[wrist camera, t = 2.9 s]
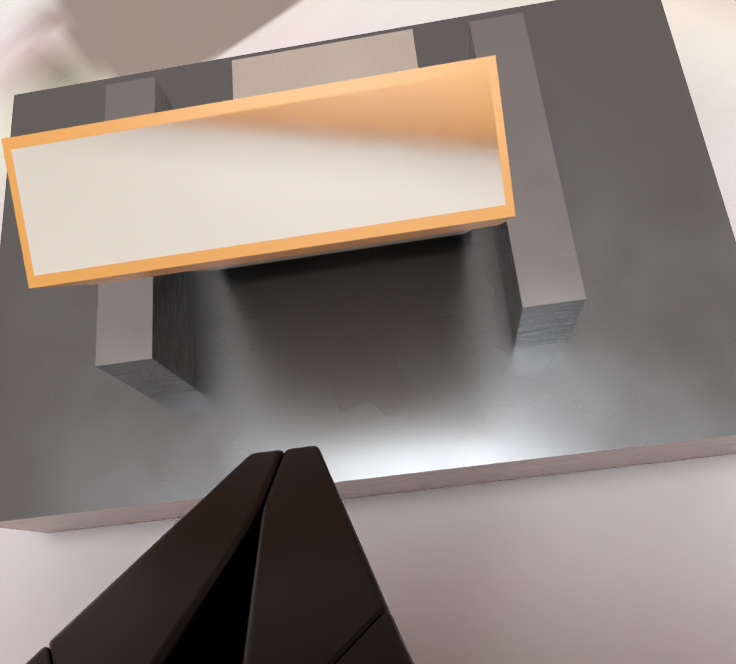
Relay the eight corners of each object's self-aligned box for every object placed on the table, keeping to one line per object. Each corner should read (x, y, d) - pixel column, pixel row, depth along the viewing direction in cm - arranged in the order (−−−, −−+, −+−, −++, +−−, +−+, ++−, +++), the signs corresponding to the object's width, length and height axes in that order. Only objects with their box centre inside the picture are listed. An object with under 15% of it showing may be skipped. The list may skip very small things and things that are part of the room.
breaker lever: (473, 239, 17) (523, 214, 8) (215, 277, 17) (22, 289, 9) (463, 160, 17) (503, 53, 8) (202, 200, 17) (-7, 139, 9)
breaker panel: (740, 452, 17) (856, 398, 12) (47, 533, 19) (-110, 515, 14) (630, 61, 21) (682, -104, 16) (69, 154, 23) (-45, 31, 18)
